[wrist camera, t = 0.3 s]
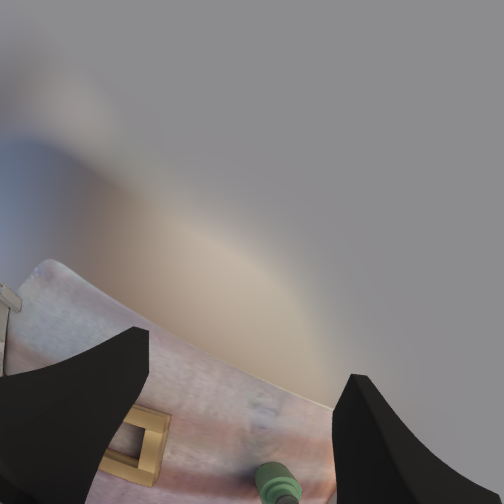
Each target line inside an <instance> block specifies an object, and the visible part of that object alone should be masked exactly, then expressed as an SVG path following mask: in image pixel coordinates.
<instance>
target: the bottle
mask: <svg viewBox="0 0 504 504" xmlns="http://www.w3.org/2000/svg"><path fill="white" fill-rule="evenodd" d="M255 483H256V486H257V489H258V492H259V496H260V499H261V501H262V503H263V504H299V500H300V498H301V496H302V488H301V486H300V484H299V483H298V481H297V480H296V479H295V478H294V476H293V475H292V474H291V473H290V471H289V470H288V469H287V468H286V467H285V466H284V465H283V464H280V463H277V462H270V463H266V464H264V465H262V466H261V467H260V468H259V469H258V470H257V471H256V473H255Z"/></svg>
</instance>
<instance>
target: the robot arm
mask: <svg viewBox="0 0 504 504" xmlns="http://www.w3.org/2000/svg"><path fill="white" fill-rule="evenodd" d="M148 375H149V331H148V330H144V329H141V328H138V327H134V326H133V327H131V328H129V329H127V330H125V331H123V332H122V333H120V334H118V335H116V336H114V337H112V338H111V339H109V340H107V341H105V342H103V343H101V344H99V345H97V346H95V347H93V348H91V349H89V350H87V351H85V352H83V353H80V354H78V355H76V356H74V357H72V358H69V359H67V360H64V361H62V362H59V363H56V364H54V365H50V366H47V367H44V368H41V369H37V370H33V371H29V372H25V373H20V374H15V375H9V376H2V377H0V504H84V503H85V501H86V498H87V495H88V492H89V489H90V487H91V484H92V481H93V479H94V477H95V474H96V472H97V469H98V467H99V464H100V462H101V460H102V458H103V456H104V453H105V451H106V449H107V447H108V445H109V443H110V441H111V440H112V438H113V436H114V435H115V433H116V431H117V430H118V428H119V427H120V425H121V423H122V422H123V420H124V419H125V417H126V416H127V414H128V412H129V411H130V409H131V408H132V406H133V404H134V403H135V401H136V400H137V398H138V396H139V395H140V393H141V390H142V388H143V386H144V384H145V382H146V379H147V377H148ZM332 443H333V453H334V463H335V473H336V483H337V504H502V503H501V500H500V497H499V495H498V494H496V493H494V492H492V491H490V490H487V489H486V488H483V487H481V486H479V485H477V484H475V483H474V482H472V481H470V480H469V479H467V478H465V477H464V476H462V475H460V474H459V473H457V472H456V471H455V470H453V469H452V468H450V467H449V466H448V465H447V464H445V463H444V462H443V461H441V460H440V459H439V458H438V457H436V456H435V455H434V454H433V453H432V452H430V450H429V449H428V448H426V447H425V446H424V445H423V444H422V443H421V442H420V441H419V440H418V439H417V438H416V437H415V436H414V434H413V433H412V432H411V431H410V430H409V429H408V428H407V427H406V425H405V424H404V423H403V422H402V421H401V420H400V418H399V417H398V416H397V415H396V413H395V412H394V411H393V409H392V408H391V407H390V406H389V405H388V403H387V402H386V400H385V399H384V398H383V396H382V395H381V393H380V392H379V391H378V389H377V388H376V387H375V385H374V384H373V383H372V382H371V380H370V379H369V378H368V377H367V376H365V375H357V374H351V375H350V377H349V380H348V382H347V384H346V386H345V388H344V390H343V392H342V395H341V397H340V399H339V401H338V403H337V405H336V407H335V409H334V411H333V417H332Z"/></svg>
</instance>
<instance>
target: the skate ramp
mask: <svg viewBox="0 0 504 504" xmlns="http://www.w3.org/2000/svg"><path fill="white" fill-rule="evenodd" d="M0 286H1V287H2V288H3V289H2V294H1V293H0V377H2V374H3V357H4V345H5V335H6V326H7V319H8V312H9V307H10V308H12V309H13V310H14V311H15V312H17V311H20V309H21V301H22V300H21V299H20V298H19V297H18V296H17V295H16V294H15V293H14V292H13V291H12V290H11V289H10V288H8V286H7V285H5V283H1V284H0Z"/></svg>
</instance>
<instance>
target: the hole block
mask: <svg viewBox="0 0 504 504" xmlns="http://www.w3.org/2000/svg"><path fill="white" fill-rule="evenodd" d="M171 416H172V415H170V414H166V413H163V412H159V411H156V410H153V409H149V408H146V407H143V406H140V405H137V404H133V406H132V408H131V409H130V411H129V412H128V414H127V416H126V417H125V419H124V420H123V421H124V422H127V423H130V424H132V425H135V426H138V427H142V428H145V434H144V439H143V444H142V449H141V454H140V459H136V458H133V457H130V456H127V455H124V454H122V453H119V452H116V451H114V450H111V449H108V448H107V449H106V451H105V453H104V456H103V458H102V460H101V462H100V464H99V467H98V469H100V470H103V471H105V472H108V473H110V474H113V475H115V476H118V477H121V478H124V479H126V480H129V481H132V482H135V483H138V484H141V485H144V486H147V487H150V488H152V486H153V485H154V484H155V483H156V481H157V480H158V478H159V473H160V468H161V463H162V458H163V453H164V448H165V443H166V439H167V434H168V429H169V425H170V420H171Z"/></svg>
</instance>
